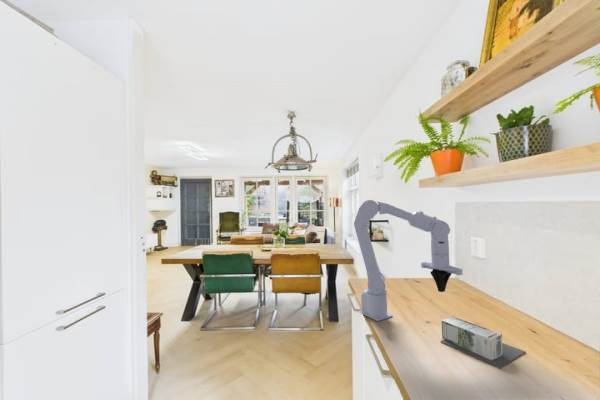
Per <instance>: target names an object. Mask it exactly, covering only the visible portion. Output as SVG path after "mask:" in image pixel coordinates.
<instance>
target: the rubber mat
mask: <svg viewBox="0 0 600 400" xmlns="http://www.w3.org/2000/svg"><path fill="white" fill-rule="evenodd" d="M440 343H442V344H444V345H446V346H448V347H451V348H453V349H454V350H458V351H460V352H461V353H464V354H465V355H466V354H467V355H468V356H470V357H473V358H476V359H477V360H480V361H482V362H484V363H486V364H489V365H491V366H493V367H496V368H497V369H502V368H504V367H505V366H507V365H508V364H510V363H511V362H513V361H514V360H516V359H517V358H519V357H521V356H522V355H524V354H525V353H527V351H526V350H524V349H523V350H522V349H521V348H518V347H515V346H512V345H509V344H507V343H503V342H502V351H503V354H502V355H501V356H500V357H498V358H496V359H493V360H489V359H487V358H485V357H483V356H481V355H478V354H476V353H474V352H472V351H469V350H467V349H465V348H463V347H460V346H458V345H456V344H454V343H452V342H449V341H447V340H445V339H443V340H441V341H440Z"/></svg>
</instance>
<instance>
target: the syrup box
mask: <svg viewBox="0 0 600 400" xmlns="http://www.w3.org/2000/svg"><path fill="white" fill-rule="evenodd" d="M441 335H442V336H441V337H442V339H443V340H447V341H449V342H452V343H454V344H456V345H458V346H460V347H463V348H465V349H467V350H469V351H472V352H474V353H476V354H478V355H481V356H483V357H485V358H487V359H489V360H493V359H496V358H498V357H500V356H501V355H502V354H503V351H502V343H503V335H502V333H500V332H498V331H495V330H491V329H489V328H486V327H483V326H480V325H478V324H474V323H473V322H472V323H471V322H469V321H467V320H463V319H461V318H458V317H455V316H450V317H447V318H445V319H442V320H441Z"/></svg>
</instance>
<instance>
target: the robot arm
mask: <svg viewBox="0 0 600 400" xmlns="http://www.w3.org/2000/svg"><path fill="white" fill-rule="evenodd" d="M378 213H379V215H386V214H388V215H390V216H394V217H396V218H399V219H402V220H404V221H407V222H408V224H409V226H410V227H413V228H416V229H417V230H420V231H424V232H427V233H430V253H431V256H430V257H431V262H427V261H423V262H421V265H420V267H421V269H428V270H432V271H430V275H431V276H432V278H433V280H434V282H435V285H436V288H437V291H438V292H440V293H444V292H446V288H447V285H448V281H449V280H450V277H451V275H452V274H453V275H456V276H463V268H460V267H456V266H452V265H450V246H449V234H450V233H451V228H450V226H449V224H448V222H446V221H444V220H442V219H439V218H438V219H437V217H436V216H429V215H427V214H424V211H421V210H419V211H412V212H408V211H406V210H404V209H401V208H399V207H396V206H394V205H391V204H388V203H385V202H380V201H375V200H374V199H373V200H372V199H367V200H365V201H364V202H363V203H362V204H361V205H360V206H359V208H358V210H357V213H356V216H355V219H354V222H353V226H354V230H355V233H356V237H357V241H358V245H359V247H360V251H361V255H362V259H363V263H364V266H365V270H366V276H367V280H368V281H367V288H366V289H364V290H363V291H362V293H361V297H360V300H361V311H360V312H359V313H360V314H362V315H364V316H366V317H368V318H370V319H372V320H374V321H377V322H379V321H382V320H385V319H388V318H389V319H390V318H391V317H393V314H391V313H389V312H388V298H387V297H388V296H387V293H388V292H387V289H386V281H385V276H384V275H383V274H382V273H381V270H380V267H379V265H378V262H377V257H376V253H375V251H374V247H373V243H372V241H371V236H370V233H369V230H368V224H369V223H370V221H371V219H373V218H374V217H375V216H376V215H377V214H378Z"/></svg>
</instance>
